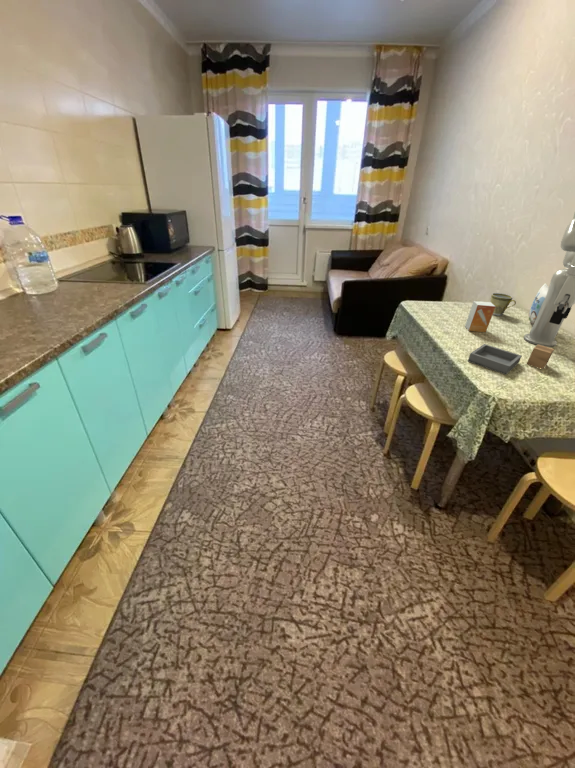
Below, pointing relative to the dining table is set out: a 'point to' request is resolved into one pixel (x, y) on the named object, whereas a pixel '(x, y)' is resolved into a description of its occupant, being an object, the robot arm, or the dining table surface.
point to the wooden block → (540, 356)
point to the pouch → (538, 303)
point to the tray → (494, 358)
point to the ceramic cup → (501, 302)
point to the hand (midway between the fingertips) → (557, 320)
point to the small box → (479, 316)
